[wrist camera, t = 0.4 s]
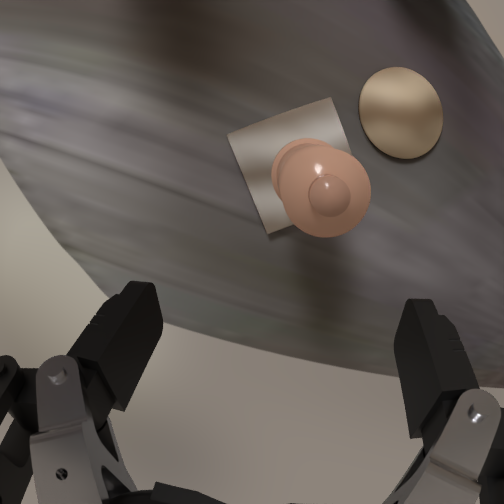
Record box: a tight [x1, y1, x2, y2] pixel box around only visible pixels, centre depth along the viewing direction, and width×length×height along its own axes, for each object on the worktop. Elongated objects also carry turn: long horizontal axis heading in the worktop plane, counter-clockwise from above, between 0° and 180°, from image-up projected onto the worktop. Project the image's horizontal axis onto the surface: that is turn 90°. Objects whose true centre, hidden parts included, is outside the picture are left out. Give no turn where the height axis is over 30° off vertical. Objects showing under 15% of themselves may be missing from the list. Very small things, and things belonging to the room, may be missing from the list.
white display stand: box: [227, 97, 352, 234], centre depth 31 cm, size 12×12×8 cm
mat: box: [358, 67, 443, 159], centre depth 32 cm, size 11×11×1 cm
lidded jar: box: [271, 138, 371, 238], centre depth 23 cm, size 6×6×10 cm
